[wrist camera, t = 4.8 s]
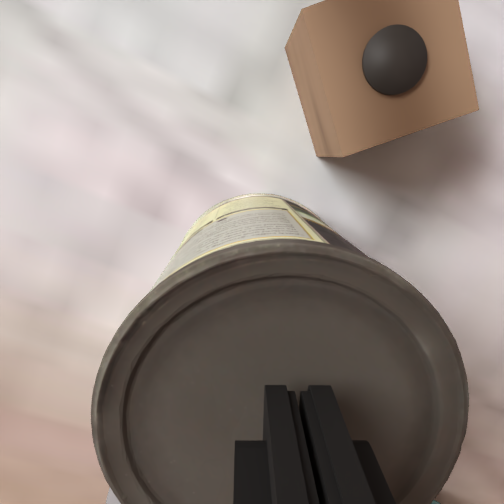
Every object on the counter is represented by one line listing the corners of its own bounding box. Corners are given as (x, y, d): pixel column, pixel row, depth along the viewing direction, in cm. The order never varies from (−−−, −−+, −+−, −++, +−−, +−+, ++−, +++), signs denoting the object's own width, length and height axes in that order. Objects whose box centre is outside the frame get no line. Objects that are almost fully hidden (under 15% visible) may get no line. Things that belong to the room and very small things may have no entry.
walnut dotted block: (391, 9, 21) (452, -49, 15) (417, 121, 23) (481, 109, 17) (284, 48, 22) (302, 7, 16) (316, 156, 23) (344, 157, 17)
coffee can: (364, 216, 24) (535, 302, 10) (312, 368, 26) (394, 604, 12) (195, 169, 23) (131, 194, 9) (156, 331, 25) (59, 543, 11)
